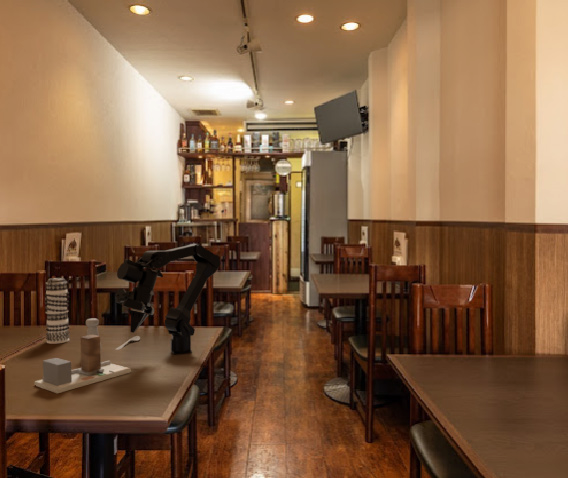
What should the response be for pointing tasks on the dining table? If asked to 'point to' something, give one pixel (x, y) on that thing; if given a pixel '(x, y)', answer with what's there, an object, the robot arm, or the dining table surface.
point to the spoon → (128, 341)
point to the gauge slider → (90, 355)
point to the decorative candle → (57, 311)
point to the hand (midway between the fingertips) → (132, 332)
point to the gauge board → (73, 375)
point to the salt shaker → (92, 327)
